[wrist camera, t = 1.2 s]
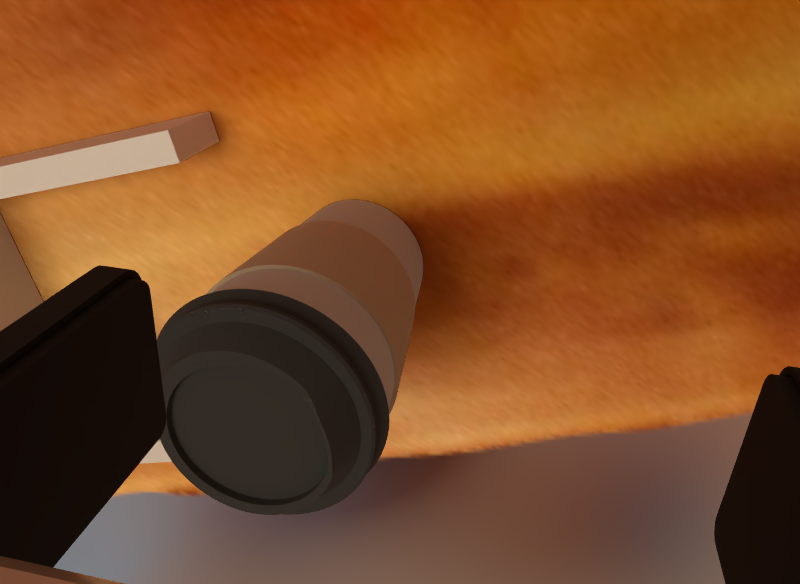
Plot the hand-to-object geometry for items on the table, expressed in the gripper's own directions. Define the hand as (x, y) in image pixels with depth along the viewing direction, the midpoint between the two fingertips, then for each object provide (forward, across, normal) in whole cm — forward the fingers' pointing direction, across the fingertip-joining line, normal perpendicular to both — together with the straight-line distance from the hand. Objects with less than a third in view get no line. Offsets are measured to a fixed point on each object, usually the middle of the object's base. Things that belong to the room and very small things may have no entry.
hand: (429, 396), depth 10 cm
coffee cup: (+23, +7, +9) cm, 26 cm away
